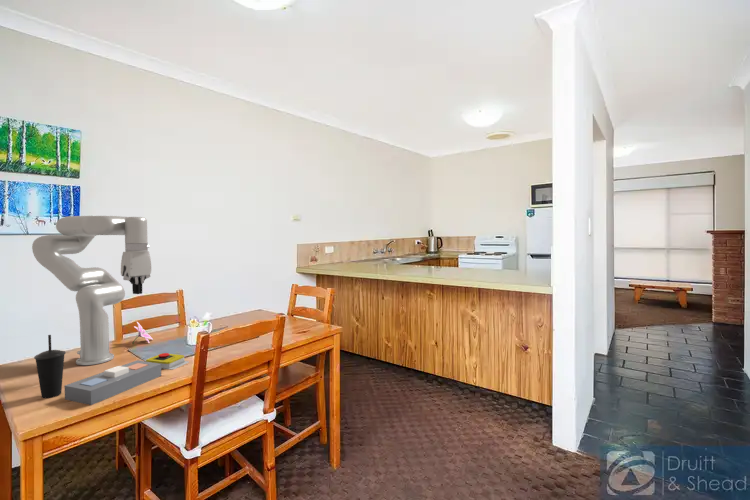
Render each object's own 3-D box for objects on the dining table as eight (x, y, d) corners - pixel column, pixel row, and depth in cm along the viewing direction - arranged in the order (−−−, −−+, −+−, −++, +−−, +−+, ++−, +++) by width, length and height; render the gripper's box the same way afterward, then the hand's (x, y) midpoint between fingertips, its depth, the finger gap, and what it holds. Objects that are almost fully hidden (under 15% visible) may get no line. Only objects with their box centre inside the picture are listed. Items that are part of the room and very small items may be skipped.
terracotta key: (125, 375, 133) (125, 367, 133) (138, 370, 137) (138, 363, 137) (135, 377, 131) (135, 369, 131) (148, 372, 136) (148, 364, 136)
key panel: (64, 399, 117) (64, 385, 117) (137, 371, 141) (137, 360, 141) (91, 405, 113) (90, 390, 113) (161, 375, 137) (161, 363, 137)
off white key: (104, 379, 126) (103, 370, 125) (118, 374, 130) (118, 365, 130) (114, 381, 124) (114, 372, 124) (128, 375, 129) (128, 367, 129)
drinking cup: (48, 390, 124) (46, 332, 123) (72, 390, 124) (70, 331, 124) (29, 400, 116) (26, 338, 115) (54, 400, 117) (52, 338, 116)
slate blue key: (80, 392, 118) (80, 383, 118) (96, 386, 123) (96, 377, 123) (91, 394, 117) (91, 385, 117) (107, 388, 122) (107, 379, 122)
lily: (137, 349, 171) (149, 330, 173) (116, 339, 172) (128, 320, 174) (152, 350, 182) (163, 332, 185) (133, 339, 184) (144, 322, 186)
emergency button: (159, 349, 156) (190, 352, 152) (159, 360, 156) (190, 363, 152) (141, 356, 147) (172, 360, 143) (141, 367, 147) (173, 371, 143)
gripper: (146, 247, 154) (147, 290, 155) (111, 248, 140) (112, 296, 141) (160, 247, 152) (160, 291, 153) (125, 248, 138) (126, 297, 139)
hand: (137, 293), depth 147 cm, fingers closed
